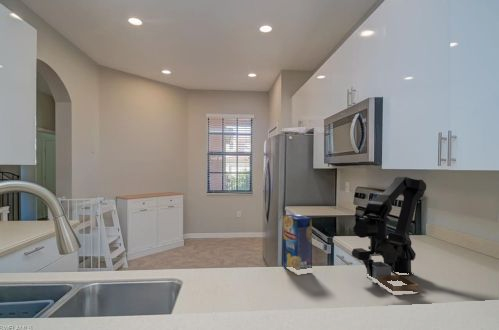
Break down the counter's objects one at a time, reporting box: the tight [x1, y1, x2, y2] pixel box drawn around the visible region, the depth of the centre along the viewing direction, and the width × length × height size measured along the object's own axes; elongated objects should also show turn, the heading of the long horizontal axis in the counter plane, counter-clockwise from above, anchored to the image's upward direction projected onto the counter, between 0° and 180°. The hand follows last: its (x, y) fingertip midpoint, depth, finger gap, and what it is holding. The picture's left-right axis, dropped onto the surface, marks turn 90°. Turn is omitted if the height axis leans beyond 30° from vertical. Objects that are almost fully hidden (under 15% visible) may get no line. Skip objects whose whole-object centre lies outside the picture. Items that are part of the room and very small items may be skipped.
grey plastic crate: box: [366, 261, 392, 279], centre depth 108 cm, size 6×6×6 cm
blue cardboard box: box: [282, 213, 313, 270], centre depth 119 cm, size 7×11×22 cm, turn 23°
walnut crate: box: [377, 274, 420, 292], centre depth 100 cm, size 9×9×3 cm
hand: (378, 276), depth 108 cm, fingers open, 6 cm apart
